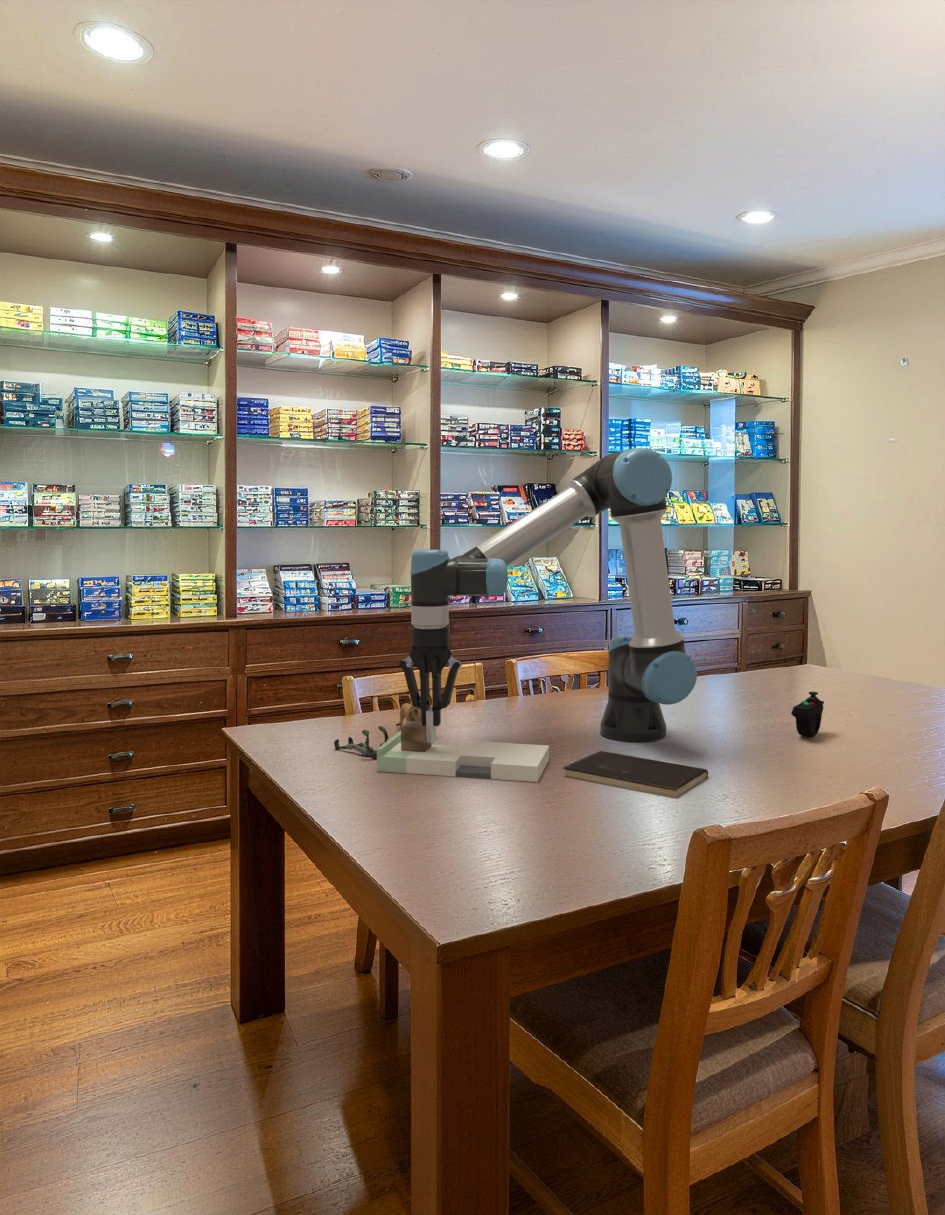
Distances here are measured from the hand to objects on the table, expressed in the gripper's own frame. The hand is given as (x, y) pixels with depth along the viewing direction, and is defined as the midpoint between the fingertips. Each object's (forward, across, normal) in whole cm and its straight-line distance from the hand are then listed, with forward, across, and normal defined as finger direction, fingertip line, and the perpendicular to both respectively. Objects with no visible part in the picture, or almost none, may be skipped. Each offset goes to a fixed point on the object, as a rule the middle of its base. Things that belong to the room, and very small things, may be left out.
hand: (431, 741), depth 174 cm
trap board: (+5, -7, 0) cm, 8 cm away
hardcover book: (+6, -41, 0) cm, 41 cm away
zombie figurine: (+5, +16, -4) cm, 17 cm away
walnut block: (+2, +3, 0) cm, 3 cm away
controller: (+5, -78, -40) cm, 88 cm away
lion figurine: (+5, +11, -23) cm, 26 cm away
